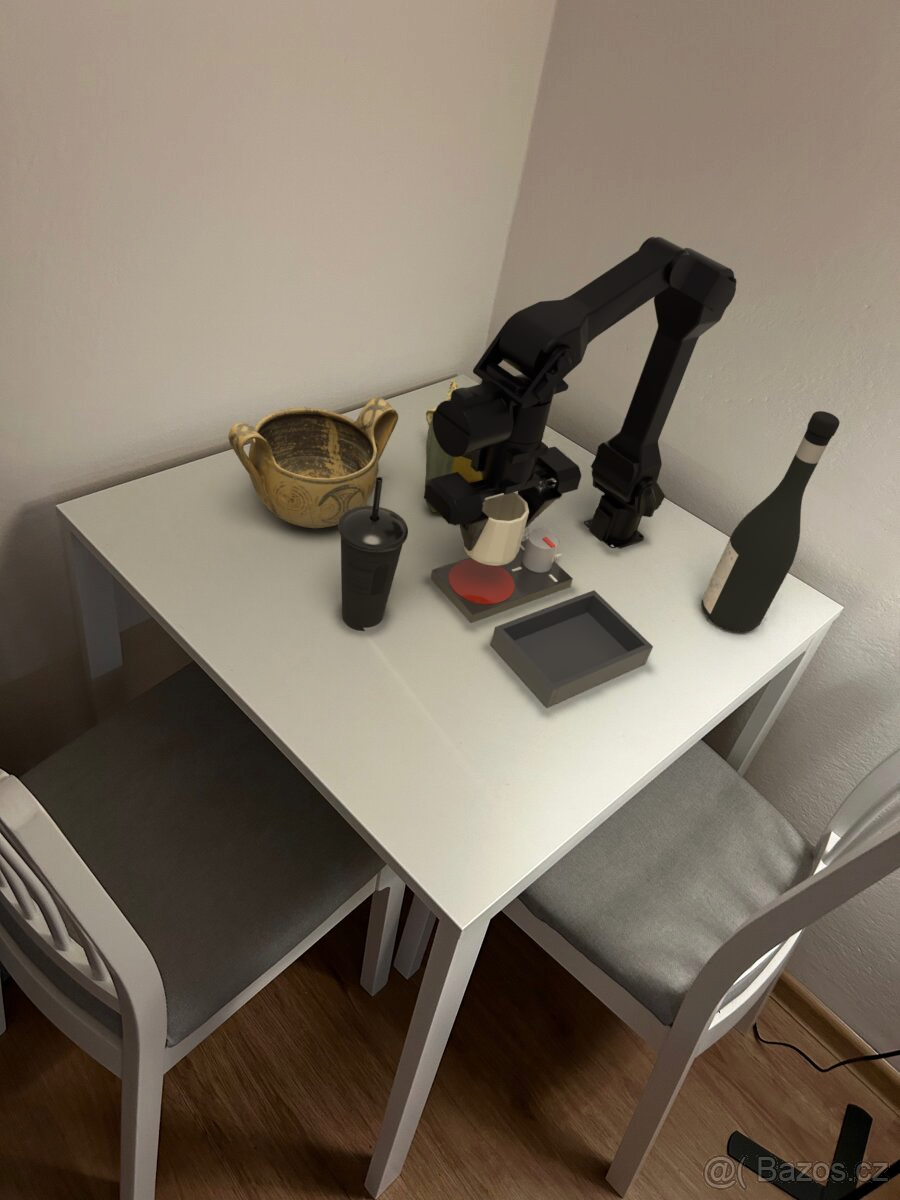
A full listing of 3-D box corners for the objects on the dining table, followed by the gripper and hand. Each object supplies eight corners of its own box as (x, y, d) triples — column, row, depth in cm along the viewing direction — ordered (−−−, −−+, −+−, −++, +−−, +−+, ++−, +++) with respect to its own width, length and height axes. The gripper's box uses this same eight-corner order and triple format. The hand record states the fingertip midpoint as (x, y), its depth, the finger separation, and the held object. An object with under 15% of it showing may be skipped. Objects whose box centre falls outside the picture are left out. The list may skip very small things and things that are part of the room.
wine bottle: (689, 615, 117) (781, 414, 97) (711, 586, 122) (803, 390, 102) (746, 645, 114) (853, 445, 94) (767, 614, 119) (872, 419, 99)
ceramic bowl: (262, 569, 110) (264, 468, 100) (206, 494, 120) (202, 394, 110) (413, 525, 122) (428, 430, 112) (351, 459, 131) (359, 366, 121)
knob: (515, 557, 117) (522, 531, 114) (539, 549, 119) (546, 524, 116) (534, 576, 114) (542, 550, 112) (558, 567, 116) (566, 542, 114)
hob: (536, 546, 122) (540, 534, 121) (578, 586, 117) (582, 574, 116) (429, 581, 114) (432, 568, 112) (469, 626, 109) (472, 613, 107)
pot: (496, 525, 112) (505, 482, 108) (528, 557, 108) (539, 514, 104) (452, 538, 109) (460, 495, 104) (483, 571, 105) (493, 528, 101)
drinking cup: (403, 608, 109) (426, 472, 96) (379, 647, 104) (399, 509, 90) (346, 587, 110) (360, 450, 97) (319, 625, 105) (330, 485, 92)
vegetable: (442, 526, 123) (466, 397, 109) (412, 518, 123) (432, 388, 110) (449, 508, 126) (473, 380, 113) (419, 500, 126) (440, 372, 113)
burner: (488, 553, 117) (489, 552, 116) (527, 593, 112) (527, 592, 112) (435, 570, 112) (435, 569, 112) (473, 612, 108) (473, 611, 108)
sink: (586, 610, 114) (594, 589, 112) (644, 667, 108) (653, 646, 106) (489, 648, 106) (494, 626, 104) (545, 711, 100) (552, 690, 98)
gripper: (538, 380, 107) (513, 487, 117) (406, 408, 97) (390, 521, 108) (599, 428, 100) (566, 536, 111) (463, 462, 91) (441, 577, 101)
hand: (491, 541), depth 108 cm, fingers closed on pot, 7 cm apart
